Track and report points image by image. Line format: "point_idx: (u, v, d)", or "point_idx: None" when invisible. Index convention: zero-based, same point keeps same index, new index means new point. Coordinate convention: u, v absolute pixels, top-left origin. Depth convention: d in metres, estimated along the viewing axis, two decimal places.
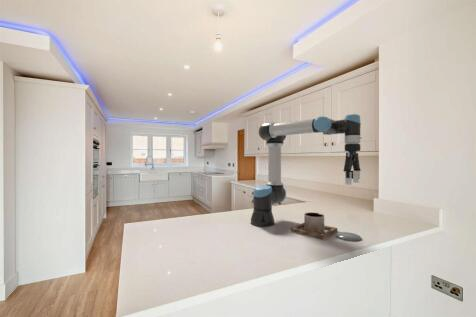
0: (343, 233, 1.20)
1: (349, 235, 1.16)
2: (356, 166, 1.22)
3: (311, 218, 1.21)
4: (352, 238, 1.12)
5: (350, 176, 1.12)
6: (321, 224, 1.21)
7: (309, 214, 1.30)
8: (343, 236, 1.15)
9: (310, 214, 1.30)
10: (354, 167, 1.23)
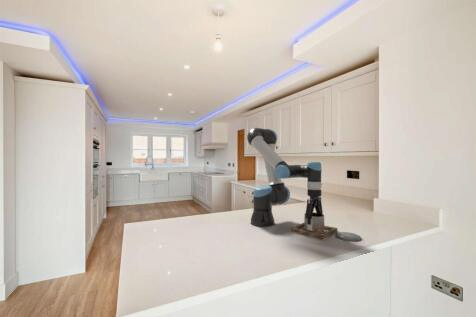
0: (343, 233, 1.20)
1: (349, 235, 1.16)
2: (318, 210, 1.29)
3: None
4: (352, 238, 1.12)
5: (311, 223, 1.20)
6: (321, 224, 1.21)
7: None
8: (343, 236, 1.15)
9: None
10: (317, 210, 1.30)
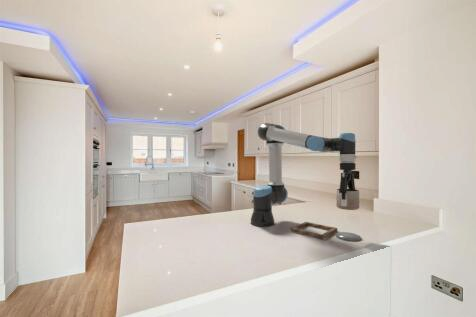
0: (343, 233, 1.20)
1: (349, 235, 1.16)
2: (351, 185, 1.19)
3: None
4: (352, 238, 1.12)
5: (346, 197, 1.11)
6: (356, 199, 1.12)
7: None
8: (343, 236, 1.15)
9: None
10: (349, 186, 1.21)
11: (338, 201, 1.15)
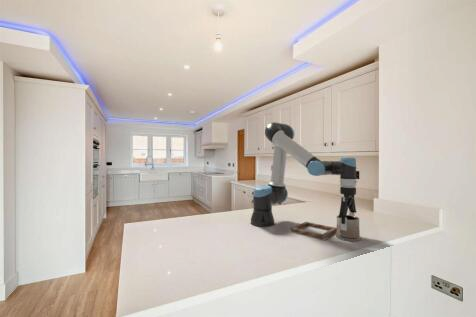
0: None
1: None
2: (352, 208, 1.20)
3: None
4: None
5: (345, 222, 1.10)
6: (357, 228, 1.12)
7: None
8: None
9: None
10: (350, 209, 1.21)
11: (338, 229, 1.15)
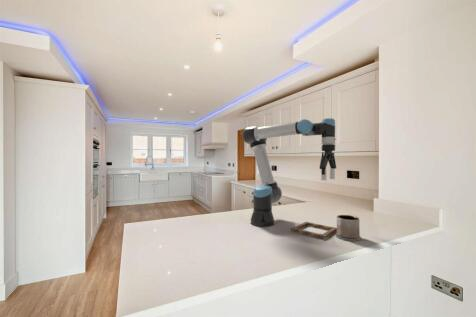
0: None
1: None
2: (332, 164, 1.37)
3: (346, 221, 1.12)
4: None
5: (325, 173, 1.27)
6: (357, 228, 1.11)
7: (341, 217, 1.20)
8: None
9: (342, 217, 1.21)
10: (331, 165, 1.38)
11: (338, 229, 1.15)
